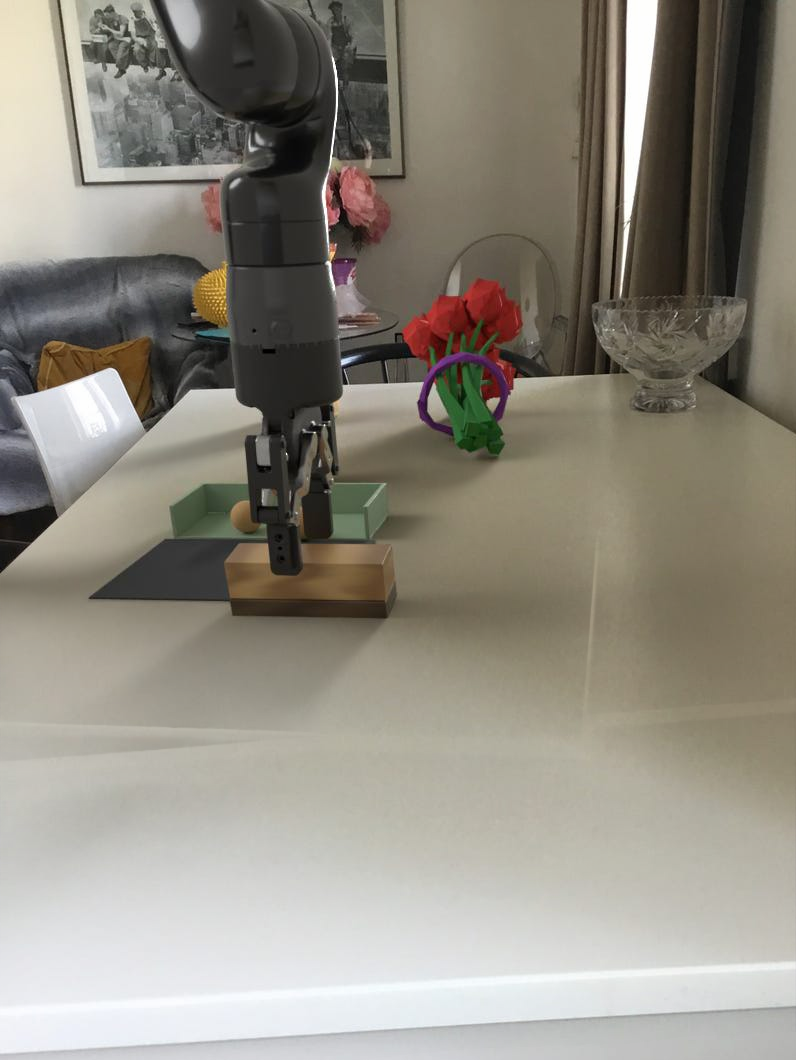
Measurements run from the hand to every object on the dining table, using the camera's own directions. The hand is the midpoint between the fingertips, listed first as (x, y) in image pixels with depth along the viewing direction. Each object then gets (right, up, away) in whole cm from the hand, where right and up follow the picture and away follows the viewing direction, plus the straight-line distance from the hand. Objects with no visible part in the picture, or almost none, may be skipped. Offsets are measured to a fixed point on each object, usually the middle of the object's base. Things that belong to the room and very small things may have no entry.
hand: (304, 554), depth 79 cm
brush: (+1, -4, +2) cm, 4 cm away
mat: (-7, 0, +11) cm, 13 cm away
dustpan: (-5, +6, +26) cm, 27 cm away
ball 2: (-3, +4, +17) cm, 18 cm away
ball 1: (-9, +5, +19) cm, 22 cm away
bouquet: (+12, +20, +59) cm, 63 cm away
